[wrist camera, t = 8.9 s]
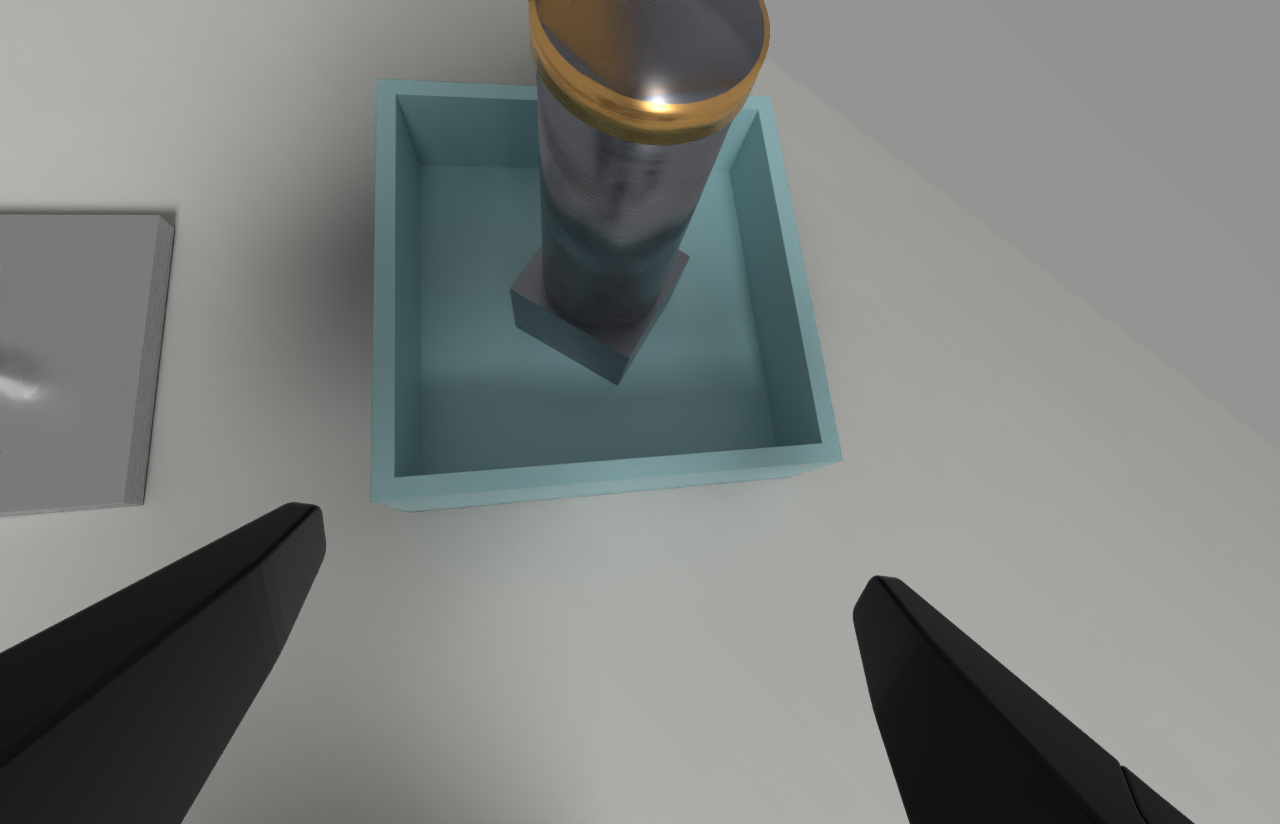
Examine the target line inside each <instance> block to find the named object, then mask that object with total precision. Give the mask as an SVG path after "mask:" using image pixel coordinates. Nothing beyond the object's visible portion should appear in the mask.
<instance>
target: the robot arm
mask: <svg viewBox="0 0 1280 824" xmlns="http://www.w3.org/2000/svg"><path fill="white" fill-rule="evenodd" d="M325 552H326V539H325V531H324V523H323V514H322V510H321V509H320V507H319V506H317V505H313V504H305V503H297V502H290V503H287V504H284V505H282V506H281V507H279V508H277V509H275V510H273V511H271V512H269V513H267V514H265V515H263V516H261V517H259V518H258V519H256V520H254V521H252V522H250V523H248V524H246V525H244V526H242V527H240V528H238V529H237V530H235V531H233V532H231V533H229V534H227V535H225V536H223V537H221V538H219V539H217V540H216V541H214V542H212V543H210V544H208V545H206V546H204V547H202V548H200V549H198V550H196V551H194V552H193V553H191V554H189V555H187V556H185V557H183V558H181V559H179V560H177V561H175V562H173V563H172V564H170V565H168V566H166V567H164V568H162V569H160V570H158V571H156V572H154V573H152V574H151V575H149V576H147V577H145V578H143V579H141V580H139V581H137V582H135V583H133V584H131V585H130V586H128V587H126V588H124V589H122V590H120V591H118V592H116V593H114V594H112V595H110V596H108V597H107V598H105V599H103V600H101V601H99V602H97V603H95V604H93V605H91V606H89V607H87V608H86V609H84V610H82V611H80V612H78V613H76V614H74V615H72V616H70V617H68V618H66V619H65V620H63V621H61V622H59V623H57V624H55V625H53V626H51V627H49V628H47V629H45V630H43V631H42V632H40V633H38V634H36V635H34V636H32V637H30V638H28V639H26V640H24V641H22V642H21V643H19V644H17V645H15V646H13V647H11V648H9V649H7V650H5V651H3V652H1V653H0V824H181V823H182V821H183V819H184V817H185V816H186V814H187V812H188V811H189V809H190V807H191V806H192V804H193V802H194V800H195V799H196V797H197V795H198V794H199V792H200V790H201V789H202V787H203V785H204V784H205V782H206V780H207V778H208V777H209V775H210V773H211V772H212V770H213V768H214V767H215V765H216V763H217V761H218V760H219V758H220V756H221V755H222V753H223V751H224V750H225V748H226V746H227V745H228V743H229V741H230V739H231V738H232V736H233V734H234V733H235V731H236V729H237V728H238V726H239V724H240V722H241V721H242V719H243V717H244V716H245V714H246V712H247V711H248V709H249V707H250V705H251V704H252V702H253V700H254V699H255V697H256V695H257V694H258V692H259V690H260V689H261V687H262V685H263V683H264V682H265V680H266V678H267V677H268V675H269V673H270V672H271V670H272V668H273V666H274V664H275V663H276V661H277V659H278V657H279V655H280V653H281V651H282V649H283V647H284V645H285V643H286V641H287V639H288V637H289V635H290V632H291V630H292V628H293V626H294V623H295V621H296V619H297V617H298V615H299V612H300V610H301V608H302V606H303V604H304V601H305V599H306V597H307V595H308V593H309V590H310V588H311V586H312V584H313V582H314V579H315V577H316V575H317V573H318V571H319V568H320V566H321V564H322V562H323V559H324V556H325ZM853 623H854V627H855V632H856V636H857V641H858V645H859V650H860V654H861V659H862V663H863V668H864V673H865V677H866V682H867V686H868V691H869V695H870V699H871V703H872V707H873V711H874V714H875V717H876V721H877V724H878V727H879V730H880V733H881V737H882V740H883V743H884V746H885V749H886V752H887V755H888V758H889V761H890V764H891V767H892V770H893V774H894V777H895V780H896V783H897V786H898V789H899V792H900V795H901V798H902V801H903V804H904V808H905V811H906V814H907V817H908V820H909V823H910V824H1194V823H1193V822H1192V821H1191V820H1190V819H1188V818H1187V817H1186V816H1185V815H1183V814H1182V813H1181V812H1180V811H1178V810H1177V809H1176V808H1175V807H1174V806H1172V805H1171V804H1170V803H1169V802H1167V801H1166V800H1165V799H1164V798H1162V797H1161V796H1160V795H1159V794H1158V793H1156V792H1155V791H1154V790H1153V789H1151V788H1150V787H1149V786H1148V785H1147V784H1146V783H1144V782H1143V781H1142V780H1141V779H1140V778H1138V777H1137V776H1136V775H1135V774H1134V773H1132V772H1131V771H1130V770H1129V769H1128V768H1126V767H1125V766H1120V763H1119V762H1118V760H1117V759H1115V758H1114V757H1113V756H1112V755H1111V754H1109V753H1108V752H1107V751H1106V750H1105V749H1103V748H1102V747H1101V746H1100V745H1099V744H1097V743H1096V742H1095V741H1094V740H1093V739H1091V738H1090V737H1089V736H1088V735H1087V734H1085V733H1084V732H1083V731H1082V730H1081V729H1079V728H1078V727H1077V726H1076V725H1075V724H1073V723H1072V722H1071V721H1070V720H1069V719H1067V718H1066V717H1065V716H1064V715H1063V714H1061V713H1060V712H1059V711H1058V710H1056V709H1055V708H1054V707H1053V706H1052V705H1050V704H1049V703H1048V702H1047V701H1046V700H1044V699H1043V698H1042V697H1041V696H1040V695H1038V694H1037V693H1036V692H1035V691H1034V690H1032V689H1031V688H1030V687H1029V686H1028V685H1026V684H1025V683H1024V682H1023V681H1022V680H1020V679H1019V678H1018V677H1017V676H1016V675H1014V674H1013V673H1012V672H1011V671H1010V670H1008V669H1007V668H1006V667H1005V666H1004V665H1002V664H1001V663H1000V662H999V661H998V660H996V659H995V658H994V657H993V656H992V655H990V654H989V653H988V652H987V651H986V650H984V649H983V648H982V647H981V646H980V645H978V644H977V643H976V642H975V641H974V640H972V639H971V638H970V637H969V636H968V635H966V634H965V633H964V632H963V631H962V630H960V629H959V628H958V627H957V626H955V625H954V624H953V623H952V622H951V621H949V620H948V619H947V618H946V617H945V616H943V615H942V614H941V613H940V612H939V611H937V610H936V609H935V608H934V607H933V606H931V605H930V604H929V603H928V602H927V601H925V600H924V599H923V598H922V597H921V596H919V595H918V594H917V593H916V592H915V591H913V590H912V589H911V588H910V587H909V586H907V585H906V584H905V583H904V582H903V581H901V580H900V579H898V578H895V577H887V576H879V575H877V576H874V577H872V578H871V579H870V580H869V582H868V583H867V585H866V587H865V589H864V590H863V592H862V594H861V596H860V597H859V599H858V601H857V603H856V604H855V607H854V610H853Z"/></svg>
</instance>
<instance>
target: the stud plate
mask: <svg viewBox="0 0 1280 824" xmlns="http://www.w3.org/2000/svg"><path fill="white" fill-rule="evenodd" d="M173 237H174V227H172V226H171V225H170V224H169V223H168V222H167V221H165V220H164V219H163V218H162V217H161V216H160V215H19V214H0V517H3V516H15V515H27V514H39V513H52V512H64V511H76V510H88V509H100V508H112V507H124V506H137V505H143V497H144V489H145V480H146V471H147V462H148V454H149V445H150V436H151V428H152V419H153V410H154V402H155V393H156V384H157V376H158V367H159V358H160V350H161V341H162V332H163V324H164V315H165V306H166V298H167V289H168V280H169V272H170V263H171V254H172V246H173Z"/></svg>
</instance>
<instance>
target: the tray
mask: <svg viewBox="0 0 1280 824" xmlns="http://www.w3.org/2000/svg"><path fill="white" fill-rule="evenodd" d="M541 245H542V237H541V204H540V170H539V136H538V103H537V86H524V85H503V84H481V83H460V82H439V81H417V80H396V79H377V84H376V154H375V224H374V293H373V363H372V432H371V502H374V503H377V504H381V505H384V506H388V507H391V508H395V509H398V510H402V511H405V512H417V511H428V510H439V509H450V508H461V507H472V506H483V505H494V504H504V503H515V502H526V501H537V500H548V499H559V498H570V497H581V496H592V495H603V494H614V493H624V492H635V491H646V490H657V489H668V488H679V487H690V486H701V485H712V484H723V483H734V482H745V481H755V480H766V479H777V478H788V477H792V476H795V475H798V474H802V473H805V472H808V471H811V470H814V469H817V468H821V467H824V466H827V465H830V464H833V463H836V462H840V461H843V458H842V453H841V447H840V442H839V437H838V432H837V427H836V422H835V417H834V412H833V407H832V402H831V397H830V392H829V387H828V382H827V377H826V372H825V367H824V362H823V357H822V352H821V347H820V342H819V337H818V332H817V327H816V322H815V317H814V312H813V307H812V302H811V297H810V292H809V287H808V282H807V277H806V272H805V267H804V262H803V257H802V252H801V247H800V242H799V237H798V232H797V226H796V221H795V216H794V211H793V206H792V201H791V196H790V191H789V186H788V181H787V176H786V171H785V166H784V161H783V156H782V151H781V146H780V141H779V136H778V131H777V126H776V121H775V116H774V111H773V106H772V101H771V97H758V96H749V97H748V99H747V100H746V102H745V104H744V106H743V108H742V109H741V110H740V112H739V113H738V114H737V116H736V117H735V118H734V119H733V121H732V123H731V126H730V128H729V130H728V133H727V135H726V137H725V140H724V142H723V145H722V147H721V149H720V152H719V154H718V156H717V159H716V161H715V164H714V166H713V168H712V171H711V173H710V175H709V178H708V180H707V183H706V185H705V187H704V190H703V192H702V195H701V197H700V199H699V202H698V204H697V206H696V209H695V211H694V214H693V216H692V218H691V221H690V223H689V225H688V228H687V230H686V233H685V235H684V237H683V240H682V242H681V244H680V247H679V249H678V250H680V251H682V252H683V253H685V254H687V255H689V256H690V258H689V260H688V263H687V265H686V267H685V269H684V271H683V273H682V275H681V277H680V280H679V282H678V284H677V286H676V288H675V290H674V292H673V294H672V297H671V298H670V300H669V302H668V303H667V305H666V307H665V308H664V310H663V312H662V313H661V315H660V317H659V318H658V320H657V322H656V323H655V325H654V327H653V328H652V330H651V331H650V333H649V335H648V336H647V338H646V340H645V341H644V343H643V345H642V346H641V348H640V350H639V351H638V353H637V355H636V356H635V358H634V360H633V361H632V363H631V365H630V366H629V368H628V370H627V371H626V373H625V375H624V376H623V378H622V380H621V381H620V383H619V385H618V386H617V385H615V384H613V383H612V382H610V381H608V380H606V379H605V378H603V377H601V376H599V375H598V374H596V373H594V372H593V371H591V370H589V369H587V368H586V367H584V366H582V365H581V364H579V363H577V362H575V361H574V360H572V359H570V358H568V357H567V356H565V355H563V354H562V353H560V352H558V351H556V350H555V349H553V348H551V347H550V346H548V345H546V344H544V343H543V342H541V341H539V340H537V339H536V338H534V337H532V336H531V335H529V334H527V333H525V332H524V331H522V330H520V329H519V328H517V327H516V326H515V319H514V313H513V306H512V300H511V293H510V288H511V286H512V285H513V284H514V282H515V281H516V280H517V278H518V277H519V275H520V274H521V273H522V271H523V270H524V269H525V267H526V266H527V264H528V263H529V262H530V260H531V259H532V257H533V256H534V255H535V253H536V252H537V251H538V249H539V248H540V246H541Z"/></svg>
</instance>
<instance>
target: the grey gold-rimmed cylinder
mask: <svg viewBox="0 0 1280 824" xmlns="http://www.w3.org/2000/svg"><path fill="white" fill-rule="evenodd" d="M528 2H529V27H530V47H531V52H532V57H533V61H534V63H535V66H536V69H537V103H538V136H539V170H540V204H541V237H542V245H541V246H540V248H539V249H538V251H537V252H536V253H535V255H534V256H533V257H532V259H531V260H530V262H529V263H528V264H527V266H526V267H525V269H524V270H523V271H522V273H521V274H520V275H519V277H518V278H517V280H516V281H515V282H514V284H513V285H512V286H511V288H510V293H511V300H512V306H513V313H514V319H515V326H516V327H517V328H519V329H520V330H522V331H524V332H525V333H527V334H529V335H531V336H532V337H534V338H536V339H537V340H539V341H541V342H543V343H544V344H546V345H548V346H550V347H551V348H553V349H555V350H556V351H558V352H560V353H562V354H563V355H565V356H567V357H568V358H570V359H572V360H574V361H575V362H577V363H579V364H581V365H582V366H584V367H586V368H587V369H589V370H591V371H593V372H594V373H596V374H598V375H599V376H601V377H603V378H605V379H606V380H608V381H610V382H612V383H613V384H615V385H617V386H618V385H619V383H620V381H621V380H622V378H623V376H624V375H625V373H626V371H627V370H628V368H629V366H630V365H631V363H632V361H633V360H634V358H635V356H636V355H637V353H638V351H639V350H640V348H641V346H642V345H643V343H644V341H645V340H646V338H647V336H648V335H649V333H650V331H651V330H652V328H653V327H654V325H655V323H656V322H657V320H658V318H659V317H660V315H661V313H662V312H663V310H664V308H665V307H666V305H667V303H668V302H669V300H670V298H671V297H672V294H673V292H674V290H675V288H676V286H677V284H678V282H679V280H680V277H681V275H682V273H683V271H684V269H685V267H686V265H687V263H688V260H689V258H690V256H689V255H687V254H685V253H683V252H682V251H680V250H678V249H679V247H680V244H681V242H682V240H683V237H684V235H685V233H686V230H687V228H688V225H689V223H690V221H691V218H692V216H693V214H694V211H695V209H696V206H697V204H698V202H699V199H700V197H701V195H702V192H703V190H704V187H705V185H706V183H707V180H708V178H709V175H710V173H711V171H712V168H713V166H714V164H715V161H716V159H717V156H718V154H719V152H720V149H721V147H722V145H723V142H724V140H725V137H726V135H727V133H728V130H729V128H730V126H731V123H732V121H733V119H734V118H735V117H736V116H737V114H738V113H739V112H740V110H741V109H742V108H743V106H744V104H745V102H746V100H747V99H748V97H749V94H750V92H751V90H752V87H753V85H754V83H755V80H756V78H757V76H758V73H759V71H760V69H761V66H762V64H763V62H764V60H765V57H766V53H767V50H768V46H769V39H770V24H769V18H768V14H767V9H766V6H765V4H764V1H763V0H528Z"/></svg>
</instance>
